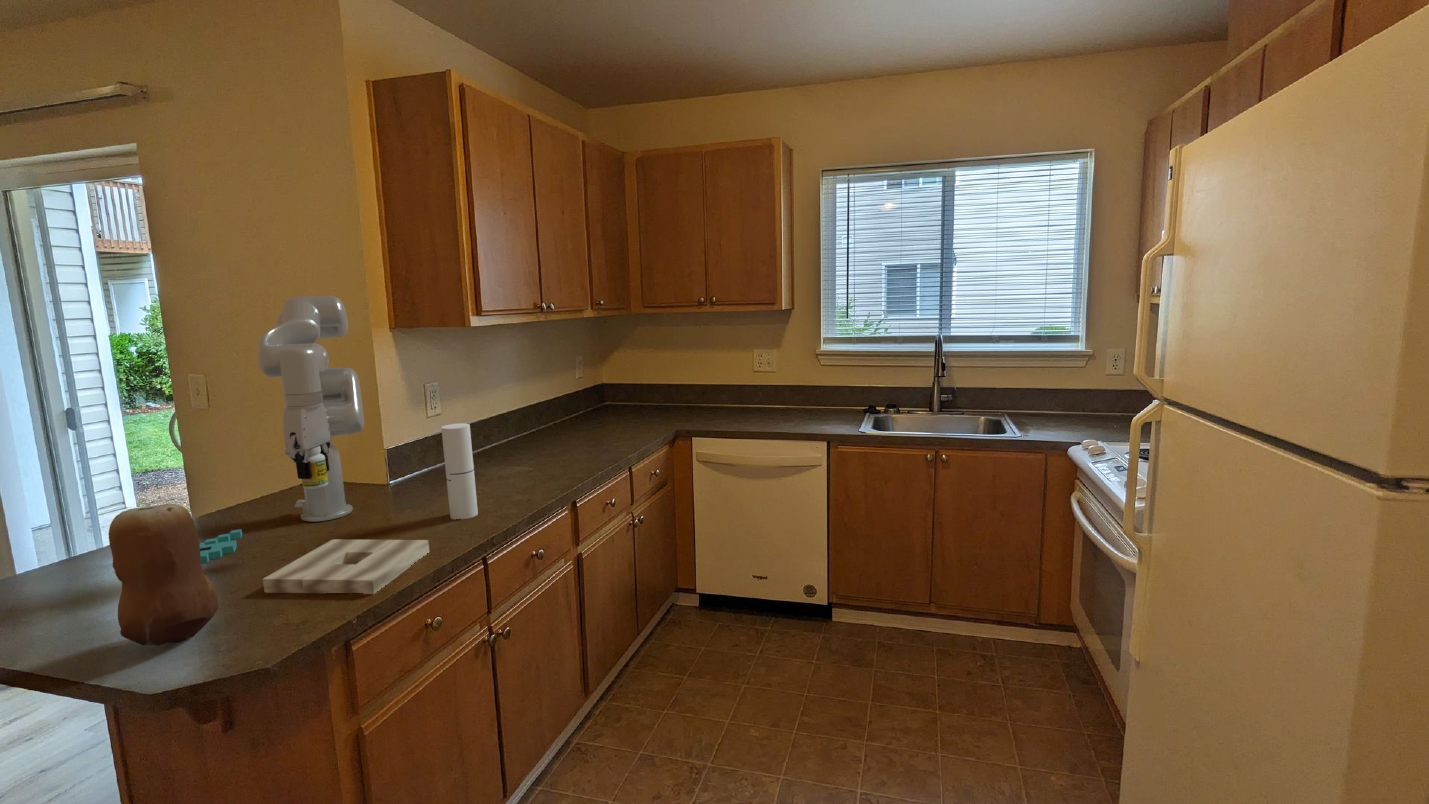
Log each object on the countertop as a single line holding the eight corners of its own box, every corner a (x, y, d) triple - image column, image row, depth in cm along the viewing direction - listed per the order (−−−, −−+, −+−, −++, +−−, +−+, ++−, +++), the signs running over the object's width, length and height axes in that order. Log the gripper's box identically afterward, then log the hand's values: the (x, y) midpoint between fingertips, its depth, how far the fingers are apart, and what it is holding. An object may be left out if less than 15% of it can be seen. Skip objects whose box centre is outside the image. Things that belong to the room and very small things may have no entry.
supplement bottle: (310, 483, 163) (305, 444, 161) (333, 482, 163) (328, 444, 161) (298, 489, 157) (292, 450, 156) (321, 489, 158) (315, 449, 156)
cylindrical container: (468, 520, 179) (460, 428, 175) (444, 519, 181) (435, 428, 177) (483, 511, 186) (474, 423, 182) (459, 510, 188) (451, 423, 184)
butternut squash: (186, 617, 128) (165, 492, 124) (239, 625, 125) (218, 496, 120) (103, 655, 115) (76, 516, 111) (159, 665, 112) (133, 522, 107)
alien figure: (144, 553, 164) (118, 583, 146) (142, 544, 164) (116, 574, 146) (242, 537, 173) (229, 564, 155) (241, 529, 173) (228, 555, 155)
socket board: (264, 592, 138) (262, 578, 138) (333, 551, 160) (332, 539, 159) (374, 594, 136) (372, 580, 136) (429, 552, 158) (428, 540, 157)
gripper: (313, 393, 165) (323, 464, 168) (261, 407, 148) (272, 485, 152) (342, 393, 164) (351, 464, 168) (292, 407, 148) (303, 485, 151)
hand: (314, 473), depth 160 cm, fingers closed on supplement bottle, 5 cm apart
